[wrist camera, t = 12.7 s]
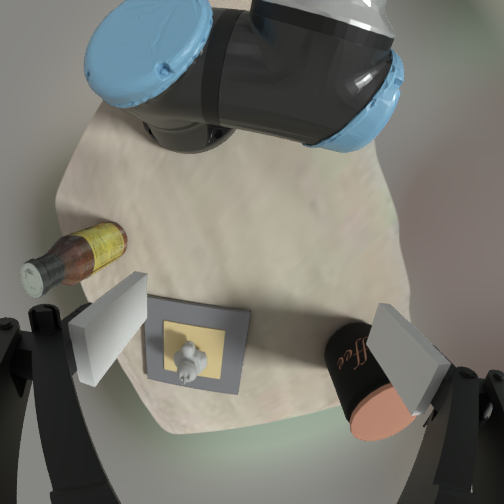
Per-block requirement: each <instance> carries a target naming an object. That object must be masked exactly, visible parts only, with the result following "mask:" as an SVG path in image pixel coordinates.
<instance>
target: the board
mask: <svg viewBox="0 0 504 504" xmlns="http://www.w3.org/2000/svg"><path fill="white" fill-rule="evenodd" d="M249 319H250V311H248V310H241V309H233V308H226V307H219V306H212V305H206V304H199V303H193V302H187V301H181V300H175V299H169V298H163V297H158V296H152V295H147V319H146V320H145V345H146V363H147V376H148V379H152V380H156V381H160V382H165V383H169V384H174V385H179V386H184V387H190V388H195V389H201V390H207V391H213V392H220V393H227V394H235V395H238V391H239V385H240V378H241V372H242V365H243V359H244V352H245V346H246V339H247V332H248V326H249ZM186 341H192V342H193V343H194V344H195V348H197V349H199V350H201V351H203V352H205V353H206V354H207V366H206V368H205V369H204V370H202V372H201V373H200V374H198V375H197V376H196V378H195V379H194V380H193V381H190V382H186V383H185V384H184V385H183V381H181V380H180V379H179V377H178V375H177V368H178V367H176V365H175V363H174V358H173V356H174V354H175V353H176V352H177V351H178V350H180V349H182V346H183V345H184V344H185V342H186Z"/></svg>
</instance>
